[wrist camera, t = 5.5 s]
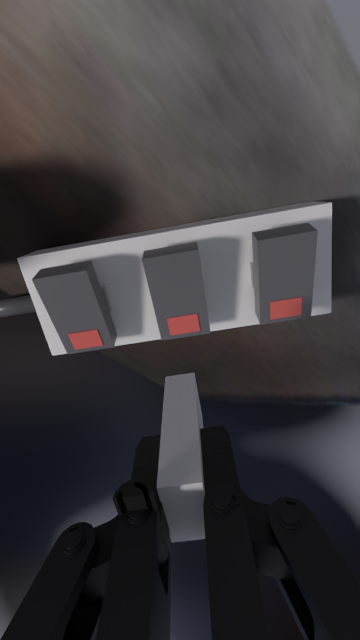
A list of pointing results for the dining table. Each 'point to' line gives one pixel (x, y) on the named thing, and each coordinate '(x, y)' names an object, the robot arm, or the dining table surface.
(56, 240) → the dining table surface
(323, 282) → the power strip
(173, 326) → the rocker
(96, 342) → the rocker
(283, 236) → the rocker
